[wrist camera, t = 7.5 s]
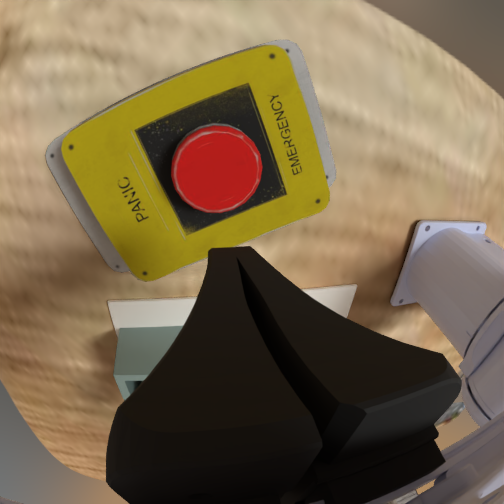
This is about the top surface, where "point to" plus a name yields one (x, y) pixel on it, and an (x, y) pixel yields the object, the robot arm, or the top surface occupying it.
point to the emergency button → (198, 161)
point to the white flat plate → (180, 308)
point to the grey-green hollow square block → (140, 354)
